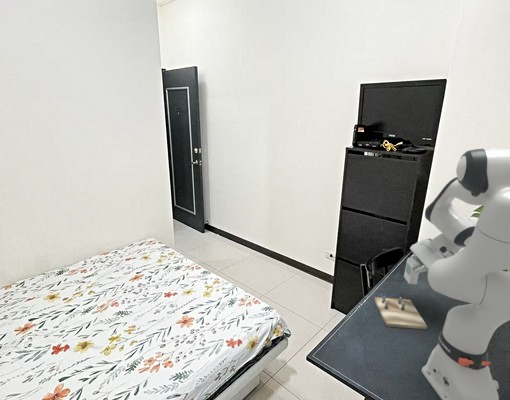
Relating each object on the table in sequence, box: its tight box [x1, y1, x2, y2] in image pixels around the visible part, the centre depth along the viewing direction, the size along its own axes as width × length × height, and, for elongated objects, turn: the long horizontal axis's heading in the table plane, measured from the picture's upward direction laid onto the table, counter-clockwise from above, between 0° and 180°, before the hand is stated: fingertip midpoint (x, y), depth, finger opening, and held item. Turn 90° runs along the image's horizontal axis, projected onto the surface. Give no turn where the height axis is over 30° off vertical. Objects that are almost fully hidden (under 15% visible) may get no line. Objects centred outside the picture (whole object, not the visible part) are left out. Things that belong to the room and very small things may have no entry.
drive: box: [403, 257, 422, 285], centre depth 119 cm, size 6×3×9 cm, turn 174°
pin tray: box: [373, 295, 428, 330], centre depth 119 cm, size 16×15×4 cm
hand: (411, 267), depth 118 cm, fingers closed on drive, 5 cm apart
